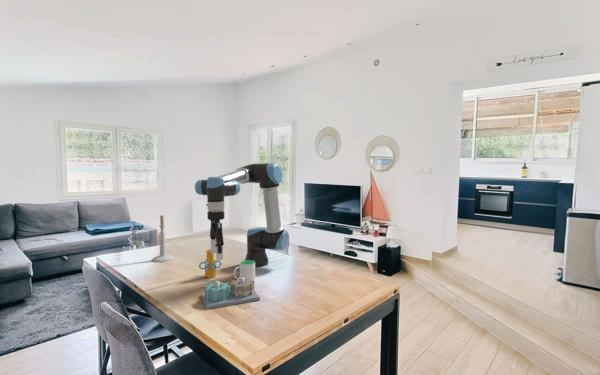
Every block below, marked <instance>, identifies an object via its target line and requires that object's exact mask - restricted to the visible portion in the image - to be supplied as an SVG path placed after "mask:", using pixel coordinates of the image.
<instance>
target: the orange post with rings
mask: <svg viewBox="0 0 600 375" xmlns="http://www.w3.org/2000/svg"><path fill="white" fill-rule="evenodd" d="M205 253H206V258H205V260H204V261H201V262H199V264H198V268H199V269H200V270H204V277H205V278H209V279H210V278H211V279H212V278H215V277H216V276H217V269H219V268H220V267H221V266H222V262H221V260H219V261H216V259H215V257H214V256H215V255H214V254H215V253H211V248H210V249H209V248H208V249H206V252H205ZM216 263H219V266H217V264H216ZM202 264H204V267H201V265H202Z"/></svg>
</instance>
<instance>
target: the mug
mask: <svg viewBox="0 0 600 375" xmlns="http://www.w3.org/2000/svg"><path fill="white" fill-rule="evenodd" d="M238 269H239V277H237V276H236V273H237V270H238ZM233 277H234V279H236V280H238V279H240V278H245V279H250V280H251V281H252V280H253V281H254V283H255V282H256V267H255V261H252V260H245V259H244V260H241V261H240V262H239V266H236V267H235V268H234V269H233Z"/></svg>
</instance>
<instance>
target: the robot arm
mask: <svg viewBox="0 0 600 375" xmlns="http://www.w3.org/2000/svg"><path fill="white" fill-rule="evenodd" d="M282 180H283V172H282V168H281V167H280V166H279V164H277V163H269V162H268V163H251V164H248V165H244V166H241V167H238V168H236V169H235V170H233V171H230V172H227V173H224V174H221V175H219V176H209V177H207V179H198V180H197V181H196V182H195V184H194V191H195V193H196V194H197V195H200V196H201V195H202V196H207V203H206V204H205V206H206V207H207V220H208V221H210V231H209V238H210V249H211V253H214V254H215V255H216V256H215V258H216V259H215V261H223V260H224V259H223V258H224V252H223V249H224V248H223V246H224V245H225V243H224V242H225V241H224V234H223V223H222V222H221V221H222V220H224V219H225V211H224V210H225V197H231V196H232V197H234V196H237V195H238V194H239V193H240V190H241V184H242V185H243V184H244V185H245V184H248V183H250V184H259V188H260V189H261V190H262V196H263V203H264V212H265V220H266V226H258V227H257V226H256V227H251V228H249V229H248V230H247V231H246V232H247V233H246V248H247V250H246V255H245V258H244V261H245V260H252V261H255V268H259V267H260V268H261V267H264V266H267V265H269V258H268V254H267V252H266V250H272V251H283V250H284V249H285V248H286V247H287V245H288V242H289V234H288V232H287V231H286V230H285V228H284V226H283V225H282V223H281V222H282V220H281V214H280V204H279V194H278V187H279V186H280V184H281V182H282Z"/></svg>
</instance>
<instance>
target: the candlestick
mask: <svg viewBox="0 0 600 375" xmlns="http://www.w3.org/2000/svg"><path fill="white" fill-rule="evenodd" d="M159 218H160V225H159V228H160V243H159V255H157V256H154V257H153V258H152V262H154V263H165V262H166V263H167V262H170V261H172V260H174V257H173V256H172V255H169V254H166V243H165V242H166V240H165V231H164V229H165V227H166V226H165V225H164V224H165V222H164V214H163V215H160V216H159Z"/></svg>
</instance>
